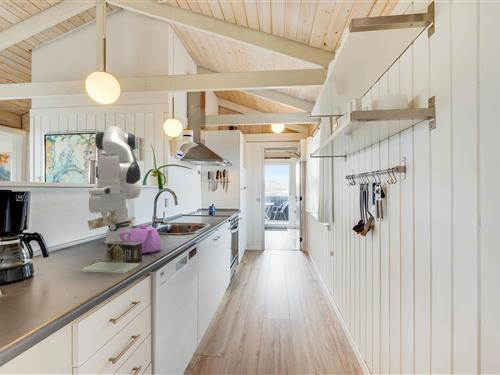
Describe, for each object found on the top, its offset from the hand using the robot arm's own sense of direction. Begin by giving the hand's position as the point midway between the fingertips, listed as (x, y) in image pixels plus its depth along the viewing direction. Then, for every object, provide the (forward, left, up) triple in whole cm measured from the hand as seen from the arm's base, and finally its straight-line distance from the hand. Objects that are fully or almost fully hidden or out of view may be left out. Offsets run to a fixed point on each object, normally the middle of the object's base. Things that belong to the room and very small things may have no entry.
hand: (109, 221), depth 114 cm
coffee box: (-12, -8, -16) cm, 22 cm away
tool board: (0, +1, -21) cm, 21 cm away
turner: (0, +1, -1) cm, 2 cm away
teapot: (-30, 0, -21) cm, 37 cm away
